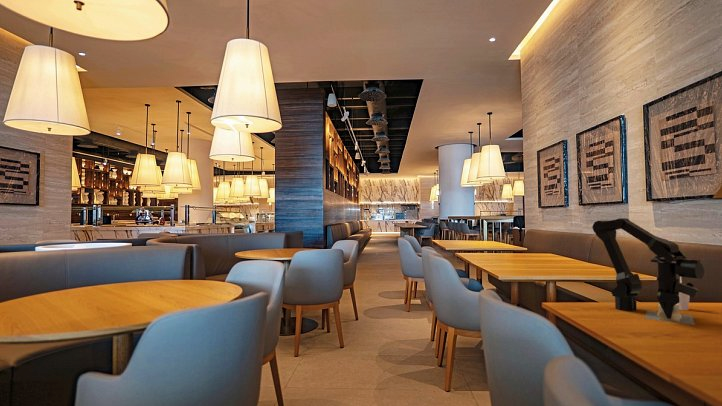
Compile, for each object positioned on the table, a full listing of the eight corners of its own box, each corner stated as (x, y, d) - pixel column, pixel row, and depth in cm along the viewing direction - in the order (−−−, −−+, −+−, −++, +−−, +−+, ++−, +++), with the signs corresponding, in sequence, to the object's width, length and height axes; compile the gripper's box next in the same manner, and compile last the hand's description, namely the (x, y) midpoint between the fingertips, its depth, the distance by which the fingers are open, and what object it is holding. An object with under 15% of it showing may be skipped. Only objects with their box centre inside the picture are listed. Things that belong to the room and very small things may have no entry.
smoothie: (690, 308, 158) (689, 275, 158) (694, 311, 152) (692, 277, 153) (671, 306, 161) (669, 274, 162) (674, 309, 156) (672, 276, 156)
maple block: (658, 319, 139) (658, 305, 139) (659, 315, 143) (658, 302, 144) (679, 322, 135) (679, 308, 135) (679, 318, 140) (678, 305, 140)
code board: (645, 320, 140) (645, 318, 140) (647, 312, 152) (646, 310, 152) (694, 327, 131) (694, 324, 131) (692, 318, 143) (692, 316, 143)
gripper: (697, 280, 127) (699, 326, 127) (694, 274, 142) (696, 315, 141) (656, 277, 135) (658, 320, 134) (657, 271, 149) (659, 310, 148)
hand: (669, 316), depth 139 cm, fingers closed on maple block, 6 cm apart
